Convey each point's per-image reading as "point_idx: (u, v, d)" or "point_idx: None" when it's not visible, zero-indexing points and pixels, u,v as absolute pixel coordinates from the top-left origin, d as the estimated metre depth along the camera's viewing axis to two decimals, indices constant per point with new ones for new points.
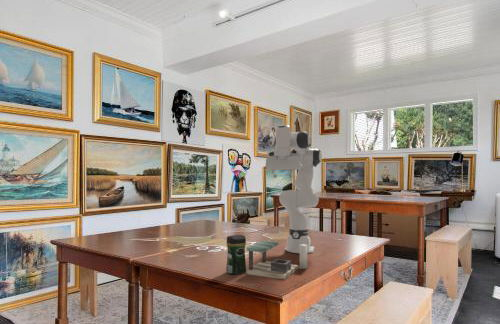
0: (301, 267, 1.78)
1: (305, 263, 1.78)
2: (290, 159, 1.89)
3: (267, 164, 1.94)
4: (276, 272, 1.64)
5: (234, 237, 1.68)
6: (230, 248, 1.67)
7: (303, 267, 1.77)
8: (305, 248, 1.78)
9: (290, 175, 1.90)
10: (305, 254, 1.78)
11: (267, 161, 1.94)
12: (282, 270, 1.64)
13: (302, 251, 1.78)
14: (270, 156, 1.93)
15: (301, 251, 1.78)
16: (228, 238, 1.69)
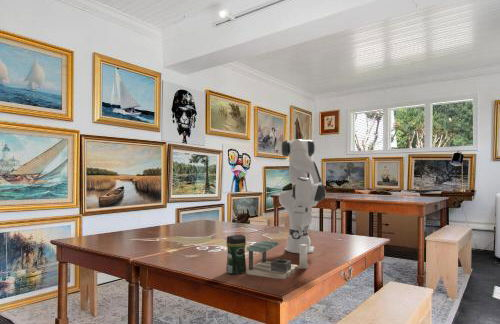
0: (301, 267, 1.78)
1: (305, 263, 1.78)
2: (309, 213, 1.84)
3: (302, 221, 1.71)
4: (276, 272, 1.64)
5: (234, 237, 1.68)
6: (230, 248, 1.67)
7: (303, 267, 1.77)
8: (305, 248, 1.78)
9: (307, 230, 1.84)
10: (305, 254, 1.78)
11: (302, 218, 1.71)
12: (282, 270, 1.64)
13: (302, 251, 1.78)
14: (305, 212, 1.73)
15: (301, 251, 1.78)
16: (228, 238, 1.69)
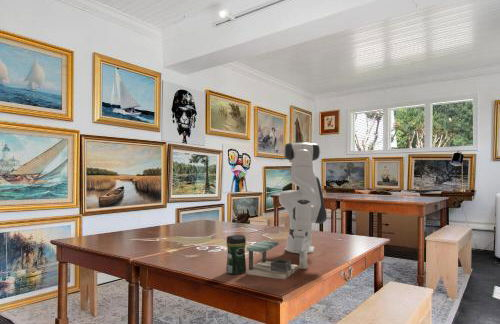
0: (301, 267, 1.78)
1: (305, 263, 1.78)
2: (309, 236, 1.83)
3: (302, 246, 1.71)
4: (276, 272, 1.64)
5: (234, 237, 1.68)
6: (230, 248, 1.67)
7: (303, 267, 1.77)
8: None
9: None
10: (305, 254, 1.78)
11: (302, 242, 1.71)
12: (282, 270, 1.64)
13: None
14: (305, 236, 1.73)
15: None
16: (228, 238, 1.69)
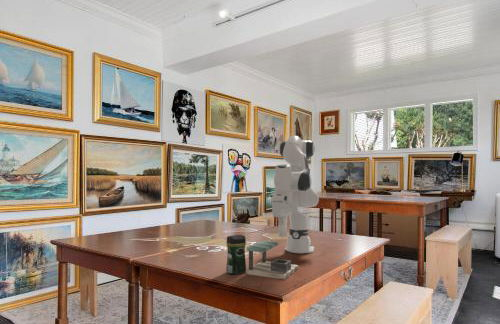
0: (280, 235, 1.68)
1: (285, 230, 1.68)
2: (289, 203, 1.74)
3: (280, 211, 1.62)
4: (276, 272, 1.64)
5: (234, 237, 1.68)
6: (230, 248, 1.67)
7: (282, 235, 1.68)
8: None
9: None
10: (285, 221, 1.68)
11: None
12: (282, 270, 1.64)
13: None
14: (284, 201, 1.63)
15: None
16: (228, 238, 1.69)
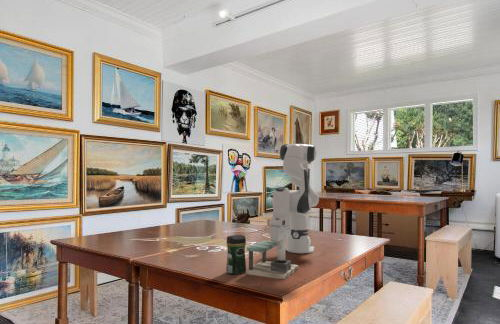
0: (279, 258, 1.67)
1: (283, 254, 1.67)
2: (287, 226, 1.73)
3: (278, 235, 1.61)
4: (276, 272, 1.64)
5: (234, 237, 1.68)
6: (230, 248, 1.67)
7: (281, 259, 1.67)
8: None
9: None
10: (283, 244, 1.67)
11: None
12: (282, 270, 1.64)
13: None
14: (282, 225, 1.62)
15: None
16: (228, 238, 1.69)
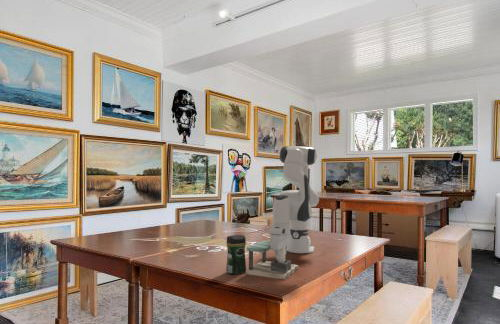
0: None
1: None
2: (287, 234, 1.73)
3: (278, 244, 1.61)
4: (276, 272, 1.64)
5: (234, 237, 1.68)
6: (230, 248, 1.67)
7: None
8: (283, 248, 1.67)
9: (285, 251, 1.73)
10: (283, 255, 1.67)
11: (279, 240, 1.61)
12: (282, 270, 1.64)
13: (280, 251, 1.67)
14: (282, 234, 1.62)
15: (279, 251, 1.68)
16: (228, 238, 1.69)
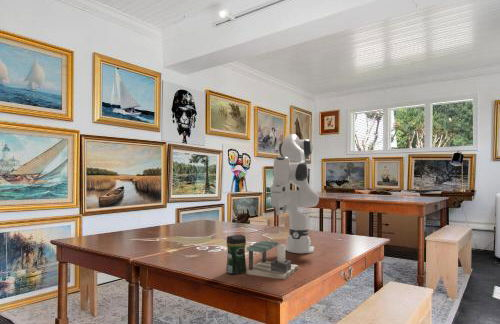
0: None
1: None
2: (287, 193, 1.82)
3: (279, 201, 1.70)
4: (276, 272, 1.64)
5: (234, 237, 1.68)
6: (230, 248, 1.67)
7: None
8: (283, 248, 1.67)
9: (285, 209, 1.82)
10: (283, 255, 1.67)
11: (279, 197, 1.70)
12: (282, 270, 1.64)
13: (280, 251, 1.67)
14: (282, 192, 1.71)
15: (279, 252, 1.68)
16: (228, 238, 1.69)
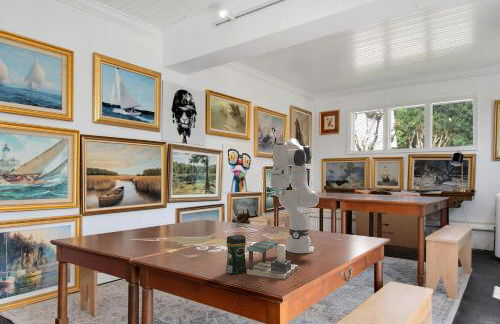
0: None
1: None
2: (286, 177, 1.93)
3: (278, 182, 1.81)
4: (276, 272, 1.64)
5: (234, 237, 1.68)
6: (230, 248, 1.67)
7: None
8: (283, 248, 1.67)
9: (284, 193, 1.93)
10: (283, 255, 1.67)
11: (278, 179, 1.81)
12: (282, 270, 1.64)
13: (280, 251, 1.67)
14: (281, 174, 1.83)
15: (279, 252, 1.68)
16: (228, 238, 1.69)
